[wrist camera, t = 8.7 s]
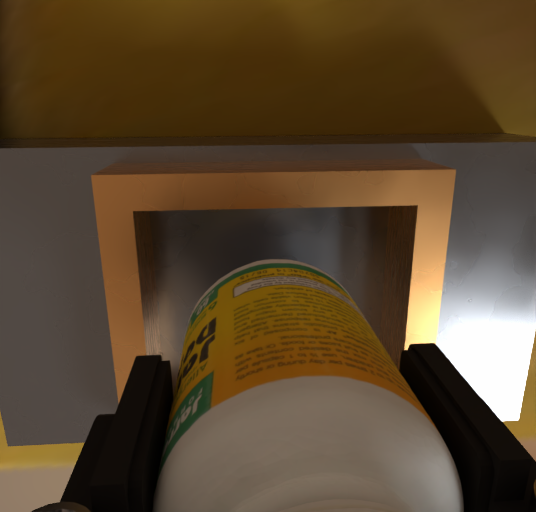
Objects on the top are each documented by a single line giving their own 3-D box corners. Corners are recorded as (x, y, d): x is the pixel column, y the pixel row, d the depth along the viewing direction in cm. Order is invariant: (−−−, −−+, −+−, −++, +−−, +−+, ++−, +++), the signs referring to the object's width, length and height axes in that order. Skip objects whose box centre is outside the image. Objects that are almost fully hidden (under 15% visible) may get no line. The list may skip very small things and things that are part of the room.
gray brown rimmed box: (505, 133, 20) (629, 149, 14) (471, 367, 23) (558, 465, 17) (-78, 139, 18) (-236, 160, 12) (-22, 388, 22) (-122, 504, 15)
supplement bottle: (346, 415, 16) (507, 853, 7) (180, 408, 15) (106, 876, 6) (374, 260, 14) (643, 556, 5) (190, 245, 13) (110, 549, 4)
